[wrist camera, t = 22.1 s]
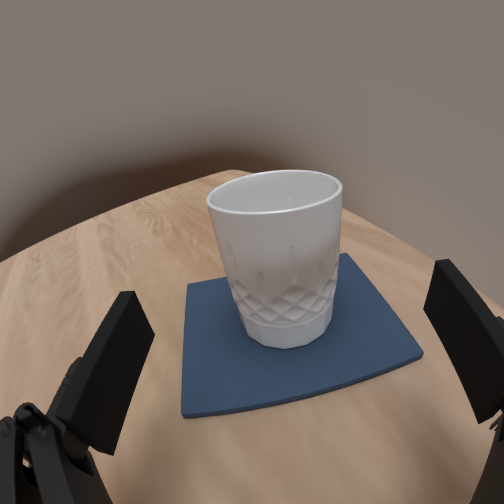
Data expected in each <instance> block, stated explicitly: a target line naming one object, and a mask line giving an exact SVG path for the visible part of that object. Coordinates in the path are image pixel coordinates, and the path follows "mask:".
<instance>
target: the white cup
mask: <svg viewBox="0 0 504 504" xmlns="http://www.w3.org/2000/svg"><path fill="white" fill-rule="evenodd" d="M206 203H207V207H208V211H209V214H210V218H211V222H212V226H213V229H214V233H215V237H216V240H217V244H218V248H219V252H220V255H221V259H222V262H223V266H224V270H225V273H226V276H227V280H228V283H229V286H230V288H231V291H232V295H233V298H234V301H235V303H236V304H237V307H238V310H239V314H240V317H241V321H242V323H243V325H244V328H245V330H246V332H247V334H248V336H249V337H251V338H253V339H254V340H256V341H257V342H259V343H260V344H262V345H264V346H269V347H275V348H281V349H288V348H293V347H298V346H303V345H307V344H309V343H310V342H312V341H313V340H315V339H316V338H318V337H319V336H321V335H322V334H323V333H324V332H325V330H326V328H327V326H328V325H329V323H330V321H331V318H332V310H333V299H334V293H335V288H336V283H337V270H338V264H339V254H340V237H341V215H342V184H341V182H340V181H339V180H338V179H336V178H334V177H333V176H330V175H328V174H324V173H320V172H315V171H307V170H278V171H269V172H262V173H256V174H251V175H247V176H243V177H239V178H236V179H233V180H230V181H228V182H226V183H223V184H221V185H219V186H218V187H216V188H215V189H213V190H212V191H211V192H210V193H209V194H208V195H207V197H206Z"/></svg>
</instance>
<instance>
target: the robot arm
mask: <svg viewBox="0 0 504 504" xmlns="http://www.w3.org/2000/svg"><path fill="white" fill-rule="evenodd" d="M423 310H424V311H425V313H426V315H427V317H428V318H429V320H430V322H431V324H432V325H433V327H434V329H435V331H436V333H437V335H438V336H439V338H440V340H441V342H442V344H443V346H444V348H445V350H446V352H447V354H448V356H449V358H450V360H451V362H452V364H453V366H454V368H455V370H456V372H457V374H458V376H459V379H460V381H461V383H462V385H463V388H464V390H465V392H466V394H467V397H468V399H469V402H470V404H471V406H472V409H473V411H474V414H475V416H476V419H477V422H478V424H480V423H482V422H484V421H486V420H488V419H490V418H492V417H493V416H494V415H495V414H496V413H497V412H498V411H499V410H500V409H501V411H502V414H501V415H500V416H499V417H498V418H497V419H496V420H495V421H494V422H493V423H492V424H491V426H490V429H493V428H494V427H495V426H496V425H497V424H498V425H497V427H496V428H495V430H494V431H496V433H495V436H494V440H493V443H492V447H491V450H490V453H489V456H488V459H487V462H486V465H485V468H484V470H483V473H482V476H481V478H480V481H479V483H478V485H477V488H476V490H475V492H474V495H473V497H472V499H471V501H470V503H469V504H504V320H503V319H502V318H501V317H500V316H498V317H495V316H494V314H493V313H492V312H491V310H490V309H489V308H488V306H487V305H486V304H485V302H484V301H483V300H482V298H481V297H480V296H479V294H478V293H477V292H476V291H475V289H474V288H473V287H472V286H471V284H470V283H469V282H468V281H467V280H466V278H465V277H464V276H463V275H462V274H461V273H460V271H459V270H458V269H457V268H456V267H455V266H454V264H453V263H452V262H451V261H450V260H449V259H444V260H438V261H435V266H434V270H433V274H432V279H431V283H430V286H429V290H428V294H427V298H426V301H425V305H424V308H423ZM154 336H155V334H154V332H153V330H152V328H151V326H150V324H149V322H148V319H147V317H146V315H145V313H144V311H143V309H142V307H141V304H140V302H139V300H138V298H137V296H136V293H135V291H122V292H120V293H119V295H118V296H117V298H116V300H115V301H114V303H113V305H112V306H111V308H110V309H109V311H108V313H107V315H106V316H105V318H104V320H103V321H102V323H101V325H100V326H99V328H98V330H97V332H96V333H95V335H94V337H93V339H92V341H91V342H90V344H89V346H88V348H87V350H86V352H85V353H84V355H83V357H78V358H77V359H76V360H75V361H74V362H73V363H72V364H71V366H70V367H69V369H68V371H67V373H66V375H65V376H66V377H65V378H64V379H63V381H62V383H61V384H62V385H61V386H60V387H59V389H58V391H57V393H56V395H55V397H54V399H53V401H52V403H51V405H50V407H49V410H48V412H47V413H46V415H44V414H43V413H42V412H41V411H40V410H39V409H38V408H37V407H36V406H35V405H34V404H33V403H29V402H27V403H23V404H22V405H20V406H19V407H18V408H17V410H16V411H15V413H14V416H13V418H11V417H8V416H7V417H4V418H3V419H1V420H0V504H113V503H112V501H111V499H110V497H109V495H108V493H107V490H106V488H105V486H104V484H103V482H102V479H101V477H100V475H99V472H98V470H97V468H96V465H95V463H94V460H93V457H92V455H91V453H90V452H89V451H88V447H89V445H90V446H91V447H92V448H94V449H95V450H97V451H98V452H102V453H105V454H108V455H112V456H114V452H115V449H116V446H117V442H118V439H119V436H120V433H121V429H122V426H123V423H124V420H125V417H126V414H127V411H128V408H129V405H130V402H131V399H132V396H133V393H134V390H135V388H136V385H137V382H138V379H139V376H140V374H141V371H142V368H143V365H144V363H145V360H146V357H147V355H148V352H149V349H150V347H151V344H152V342H153V339H154ZM23 459H25V460H26V461H28V462H29V467H26V466H24V465H23Z"/></svg>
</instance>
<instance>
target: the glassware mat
mask: <svg viewBox="0 0 504 504" xmlns="http://www.w3.org/2000/svg"><path fill="white" fill-rule="evenodd" d="M423 353H424V352H423V350H422V349H421V347H420V346H419V345H418V343H417V342H416V340H415V339H414V338H413V336H412V335H411V334H410V332H409V331H408V329H407V328H406V327H405V325H404V324H403V323H402V321H401V320H400V319H399V317H398V316H397V315H396V313H395V312H394V311H393V309H392V308H391V307H390V306H389V304H388V303H387V302H386V300H385V299H384V298H383V297H382V295H381V294H380V293H379V292H378V290H377V289H376V288H375V286H374V285H373V284H372V283H371V282H370V280H369V279H368V278H367V277H366V275H365V274H364V273H363V272H362V270H361V269H360V268H359V267H358V266H357V264H356V263H355V262H354V261H353V260H352V258H351V257H350V256H349V255H348V254H347V253H342V254H339V264H338V270H337V283H336V288H335V293H334V299H333V310H332V318H331V321H330V323H329V325H328V326H327V328H326V330H325V332H324V333H323V334H322V335H321V336H319V337H318V338H316V339H315V340H313V341H312V342H310V343H309V344H307V345H303V346H298V347H293V348H288V349H281V348H275V347H269V346H264V345H262V344H260V343H259V342H257V341H256V340H254V339H253V338H251V337H249V336H248V334H247V332H246V330H245V328H244V325H243V323H242V321H241V317H240V314H239V310H238V307H237V304H236V303H235V301H234V298H233V295H232V291H231V288H230V286H229V283H228V280H227V277H223V278H218V279H212V280H207V281H202V282H196V283H191V284H188V285H187V297H186V310H185V325H184V342H183V363H182V397H181V414H182V416H183V417H184V418H193V417H203V416H212V415H219V414H227V413H234V412H240V411H246V410H252V409H257V408H263V407H268V406H273V405H278V404H282V403H287V402H291V401H295V400H299V399H303V398H307V397H311V396H315V395H319V394H322V393H326V392H329V391H333V390H336V389H339V388H342V387H346V386H349V385H352V384H355V383H358V382H361V381H364V380H367V379H369V378H372V377H375V376H378V375H380V374H383V373H386V372H388V371H391V370H393V369H396V368H398V367H401V366H403V365H406V364H408V363H410V362H413V361H415V360H417V359H419V358H421V357H422V356H423Z"/></svg>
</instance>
